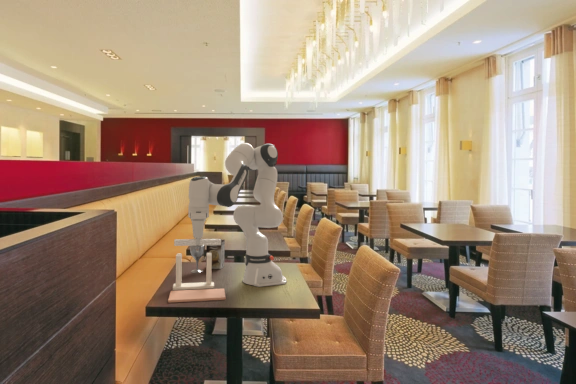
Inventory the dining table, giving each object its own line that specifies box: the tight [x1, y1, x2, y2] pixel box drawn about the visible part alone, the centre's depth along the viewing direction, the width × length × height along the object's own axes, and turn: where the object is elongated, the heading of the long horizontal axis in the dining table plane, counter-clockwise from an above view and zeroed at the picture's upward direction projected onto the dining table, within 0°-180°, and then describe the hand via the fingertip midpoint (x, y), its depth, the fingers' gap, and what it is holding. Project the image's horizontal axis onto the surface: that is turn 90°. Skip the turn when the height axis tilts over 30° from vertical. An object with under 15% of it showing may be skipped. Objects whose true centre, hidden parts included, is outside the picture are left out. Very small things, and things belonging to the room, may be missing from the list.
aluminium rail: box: [173, 238, 222, 247], centre depth 161 cm, size 20×2×2 cm, turn 103°
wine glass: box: [189, 245, 206, 274], centre depth 201 cm, size 8×8×15 cm
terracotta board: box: [167, 287, 227, 304], centre depth 163 cm, size 24×12×1 cm, turn 103°
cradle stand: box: [172, 253, 215, 291], centre depth 174 cm, size 19×6×16 cm, turn 103°
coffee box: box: [205, 238, 226, 270], centre depth 210 cm, size 9×6×16 cm
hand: (198, 244), depth 161 cm, fingers closed on aluminium rail, 2 cm apart
